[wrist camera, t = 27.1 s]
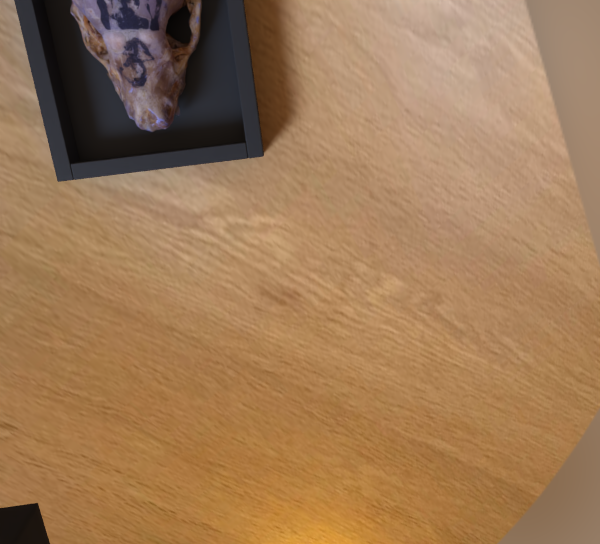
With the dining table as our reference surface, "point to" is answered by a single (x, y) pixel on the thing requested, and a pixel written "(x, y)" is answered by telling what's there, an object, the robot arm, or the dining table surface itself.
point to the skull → (140, 53)
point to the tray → (110, 108)
